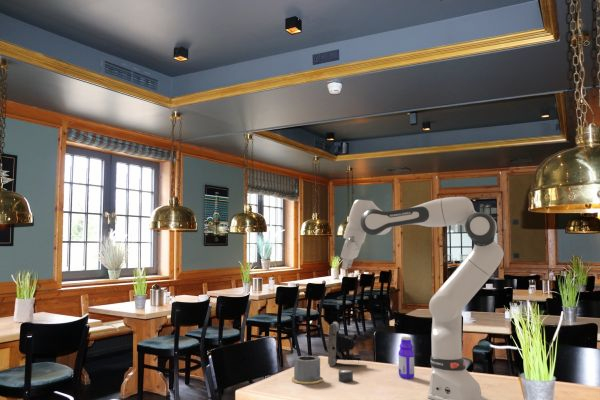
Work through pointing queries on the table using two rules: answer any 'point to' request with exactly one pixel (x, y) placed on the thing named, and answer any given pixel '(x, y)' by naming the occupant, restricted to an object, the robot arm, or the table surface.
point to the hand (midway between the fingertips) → (346, 268)
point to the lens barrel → (307, 370)
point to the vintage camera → (340, 345)
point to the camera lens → (345, 376)
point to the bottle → (406, 358)
